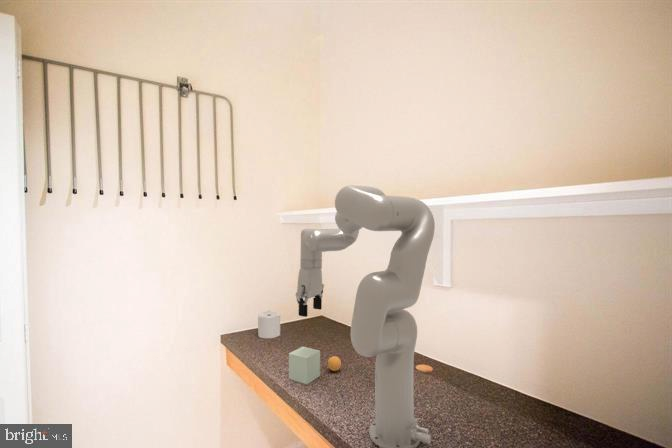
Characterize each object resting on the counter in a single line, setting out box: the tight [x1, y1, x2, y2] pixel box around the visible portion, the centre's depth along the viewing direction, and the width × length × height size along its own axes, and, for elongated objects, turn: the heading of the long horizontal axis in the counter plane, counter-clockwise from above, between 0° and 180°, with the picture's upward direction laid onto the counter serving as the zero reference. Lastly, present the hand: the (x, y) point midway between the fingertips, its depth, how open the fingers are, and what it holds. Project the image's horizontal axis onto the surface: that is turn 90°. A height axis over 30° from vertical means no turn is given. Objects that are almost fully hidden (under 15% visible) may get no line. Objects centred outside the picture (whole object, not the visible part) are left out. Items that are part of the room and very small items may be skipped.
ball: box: [327, 355, 342, 372], centre depth 119 cm, size 5×5×5 cm
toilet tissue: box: [257, 310, 281, 339], centre depth 160 cm, size 11×12×10 cm
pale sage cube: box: [288, 346, 321, 385], centre depth 114 cm, size 8×8×9 cm
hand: (310, 312), depth 115 cm, fingers open, 9 cm apart
